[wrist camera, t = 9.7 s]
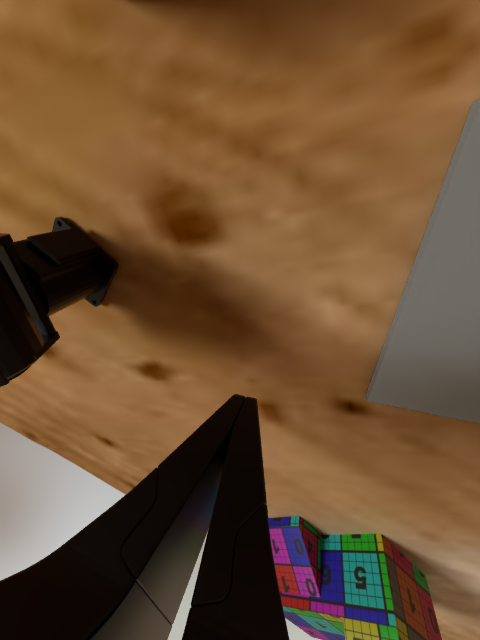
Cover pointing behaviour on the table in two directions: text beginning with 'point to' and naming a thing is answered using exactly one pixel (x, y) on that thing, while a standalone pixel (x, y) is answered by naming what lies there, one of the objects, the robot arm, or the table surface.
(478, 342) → the rubber mat
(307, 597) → the block puzzle
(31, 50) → the table surface
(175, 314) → the table surface
